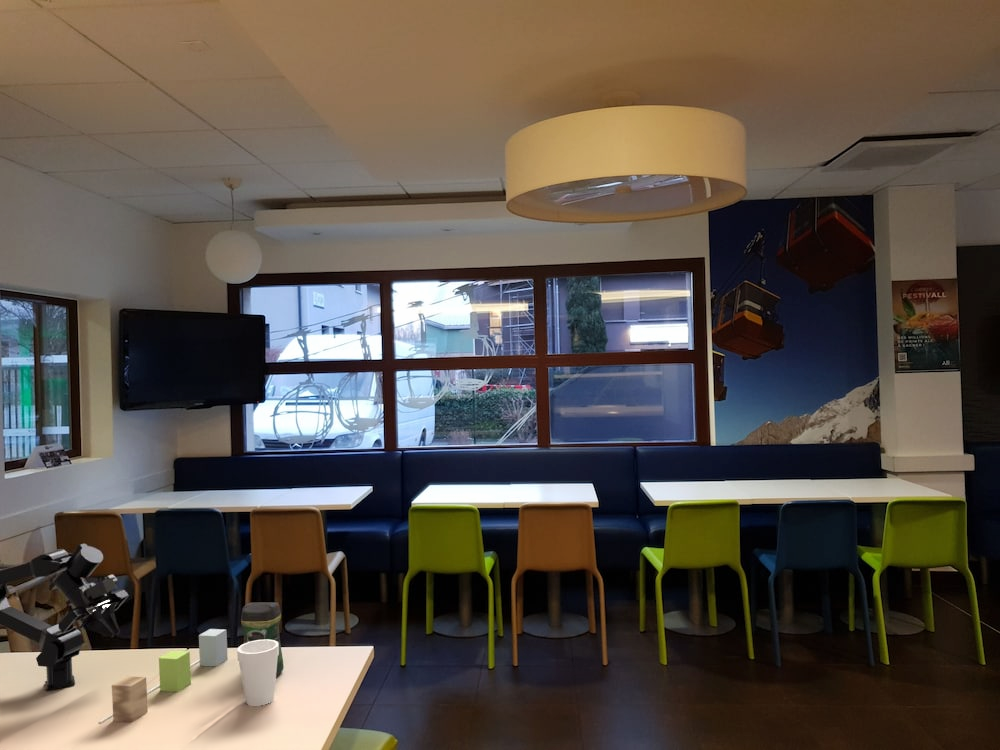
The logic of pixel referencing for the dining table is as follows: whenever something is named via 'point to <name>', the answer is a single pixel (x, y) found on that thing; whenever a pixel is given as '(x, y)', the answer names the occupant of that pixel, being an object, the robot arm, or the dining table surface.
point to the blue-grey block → (213, 647)
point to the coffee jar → (263, 625)
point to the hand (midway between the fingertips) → (115, 634)
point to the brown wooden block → (129, 698)
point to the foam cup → (258, 670)
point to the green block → (174, 671)
